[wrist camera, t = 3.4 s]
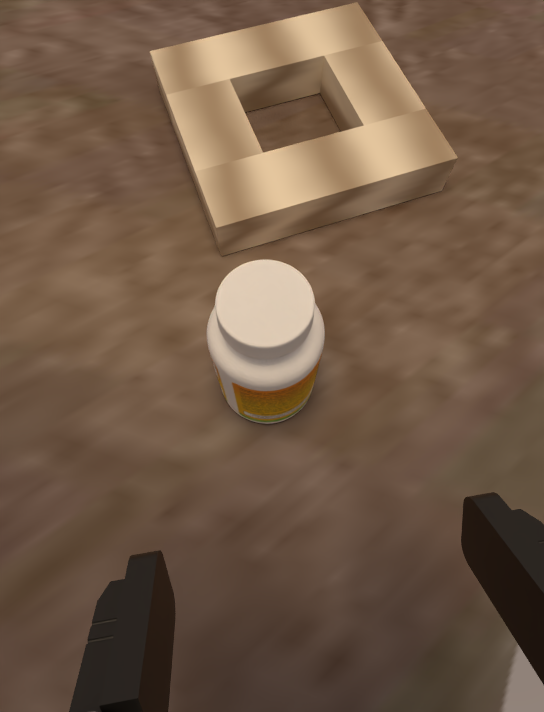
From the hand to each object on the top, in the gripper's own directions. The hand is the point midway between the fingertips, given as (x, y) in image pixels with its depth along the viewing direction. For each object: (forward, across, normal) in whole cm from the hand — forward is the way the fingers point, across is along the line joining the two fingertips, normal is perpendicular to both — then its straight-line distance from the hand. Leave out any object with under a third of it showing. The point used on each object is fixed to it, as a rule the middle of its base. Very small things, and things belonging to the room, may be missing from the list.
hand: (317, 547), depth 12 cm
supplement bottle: (+16, 0, +3) cm, 16 cm away
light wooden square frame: (+28, -5, -10) cm, 31 cm away
